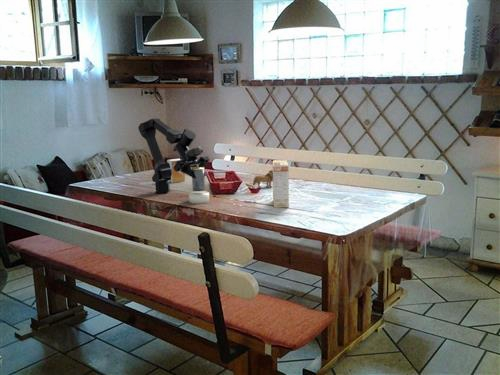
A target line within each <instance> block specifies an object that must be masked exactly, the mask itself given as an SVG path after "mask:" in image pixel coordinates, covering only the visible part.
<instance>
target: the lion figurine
mask: <svg viewBox="0 0 500 375" xmlns="http://www.w3.org/2000/svg"><path fill="white" fill-rule="evenodd" d="M272 182H273V169H270V170H269V171H268V172H267V174H265V175H257V176H254V178H253V182H252V186H253V185H254V186H255V185H256V184H257V187H258V186H259V187H260V188H259V187H258V188H259V189H262V186H260V184H261V183H266V187H269V188H273V185H272Z"/></svg>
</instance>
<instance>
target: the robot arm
mask: <svg viewBox="0 0 500 375" xmlns="http://www.w3.org/2000/svg"><path fill="white" fill-rule="evenodd" d="M137 128H138V131H139V133H140V135H141V136H142V138H144V139H145V141H146V143H147V146H148V149H149V151H150V154H151V156H152V160H153V161H154V162H153V163H154V169H153V171H154V173H153V175H152V177H151V179H152V182H153V183H154V184H155V192H154V193H155V194H168V193H169V192H170V191H171V187H170V186H171V185H170V184H171V183H170V182H169V181H168V180H171V176H172V171H171V170H172V169H171V167H170V164H169V163H167V161H166V162H165V160H164V157H163V155H162V151H161V148H160V147H159V144H158V141H157V138H156V134H157V131H158V132H159V133H161V134H162V135H164V137H165V140H166V141H167V142H168V144H170V145H173V144H175V145H173V152H177V153H178V155H179V159H180V160H177V162H176V164H175V165H174V170H175V171H176V172H177V171H180V170H181V172H183V173H185V175H186V176H189V177H191V179H192V178H194V179H195V178H196V177H195V174H194V173H193V171H192V169H191V168H192V167H193V166H196V167H204V176H205V177H206V170H205V167H206V166H207V164H208V163H209V161H210V158H209V157H208V156H207V155H204V156H200V157H198V156H199V155H202V154H203V152H204V150H203V148H202V146H197V147H195V148H191V149H190V148H189V147H190V146H192V143H193V142H194V140H195V139H196V136H197V135H196V133H195V132H193V131H192V130H190V129H189V128H185V129H183V132H182V131H180V130H178V129H173V128H171V127H170V126H168V125H167V124H165V122H163V121H161V119H160V118H158V117H155V118H154V117H153V118H150V119H149V120H147V121H144V122H141V123H140V124H139V125H138V127H137ZM197 159H198V160H197ZM180 167H181V168H180Z"/></svg>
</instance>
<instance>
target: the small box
mask: <svg viewBox="0 0 500 375" xmlns="http://www.w3.org/2000/svg"><path fill="white" fill-rule="evenodd" d="M177 160H180V158H173V159H172V158H171V159H167V160H166V163H169V164H170V167H171V169H172V170H171V171H172V176H171V180H168V183H172V184H174V183H182V182H183V181H184V182H186V180H185V178H186V174H185V173H183V172H181V170H180V171H177V172H176V171H175V170H174V165H175V164H176V162H177ZM180 168H181V167H180Z"/></svg>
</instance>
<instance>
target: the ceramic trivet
mask: <svg viewBox="0 0 500 375" xmlns="http://www.w3.org/2000/svg"><path fill="white" fill-rule="evenodd" d="M210 200H211V199H210V192H209V191H206V190H204V191H190V192H189V193H188V202H189V204H190V203H191V204H206V203H209V202H210Z"/></svg>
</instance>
